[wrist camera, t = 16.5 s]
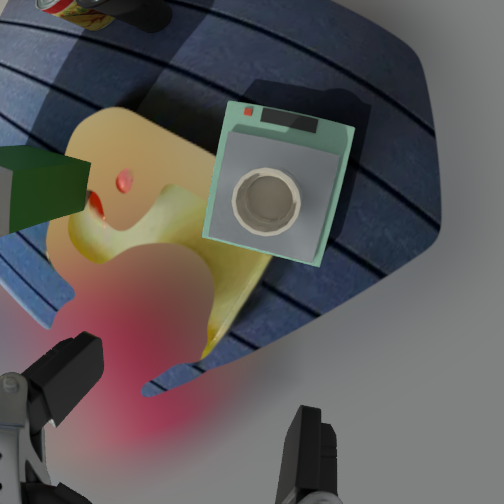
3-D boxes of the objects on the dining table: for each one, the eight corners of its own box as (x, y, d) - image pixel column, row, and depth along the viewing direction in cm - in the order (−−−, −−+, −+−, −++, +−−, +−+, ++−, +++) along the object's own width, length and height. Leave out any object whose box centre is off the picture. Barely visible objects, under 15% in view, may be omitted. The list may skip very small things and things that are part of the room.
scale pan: (339, 155, 30) (340, 155, 30) (312, 261, 34) (312, 263, 33) (230, 131, 32) (228, 130, 31) (210, 235, 35) (207, 236, 35)
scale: (351, 130, 32) (355, 127, 29) (318, 259, 37) (319, 268, 34) (234, 105, 34) (227, 99, 30) (209, 231, 38) (200, 237, 35)
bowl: (307, 174, 31) (307, 176, 26) (293, 231, 33) (291, 243, 28) (249, 161, 31) (239, 161, 27) (237, 217, 33) (226, 227, 29)
